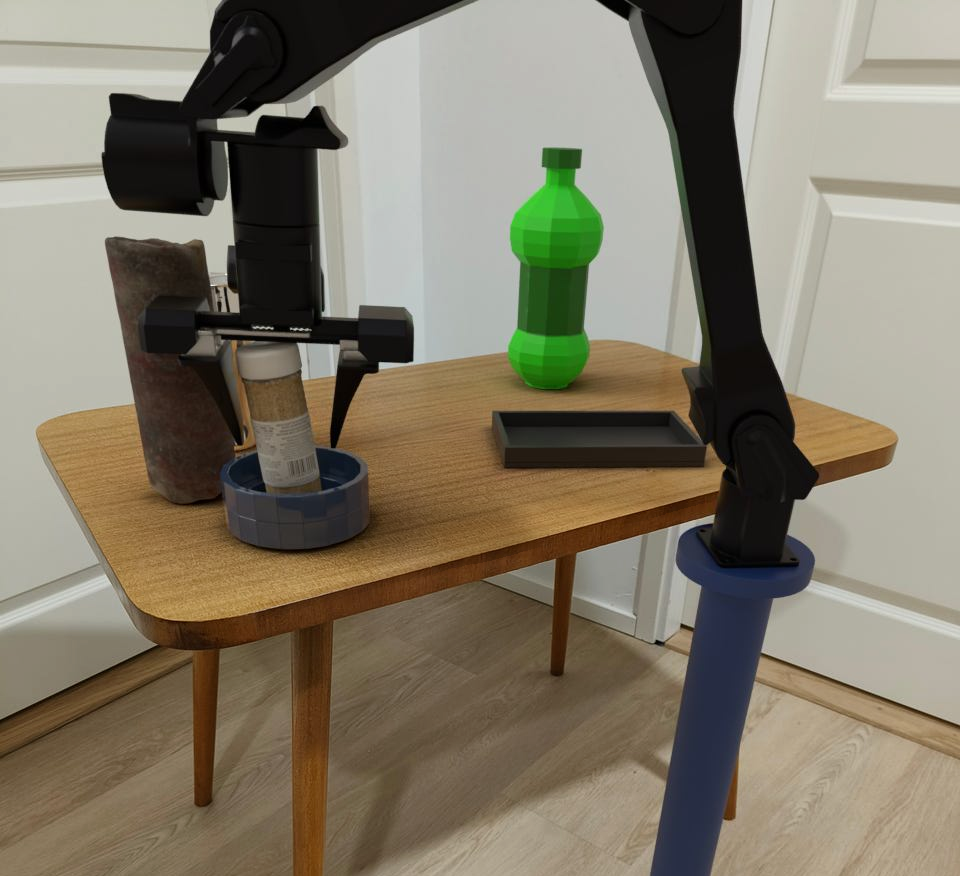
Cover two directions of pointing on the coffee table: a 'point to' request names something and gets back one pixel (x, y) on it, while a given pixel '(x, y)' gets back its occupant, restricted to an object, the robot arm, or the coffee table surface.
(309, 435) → the sprinkles bottle
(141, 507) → the coffee table surface
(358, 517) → the bowl
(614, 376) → the coffee table surface
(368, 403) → the coffee table surface
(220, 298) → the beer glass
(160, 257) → the brown stone pillar
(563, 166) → the plastic bottle
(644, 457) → the tray
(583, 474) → the coffee table surface
